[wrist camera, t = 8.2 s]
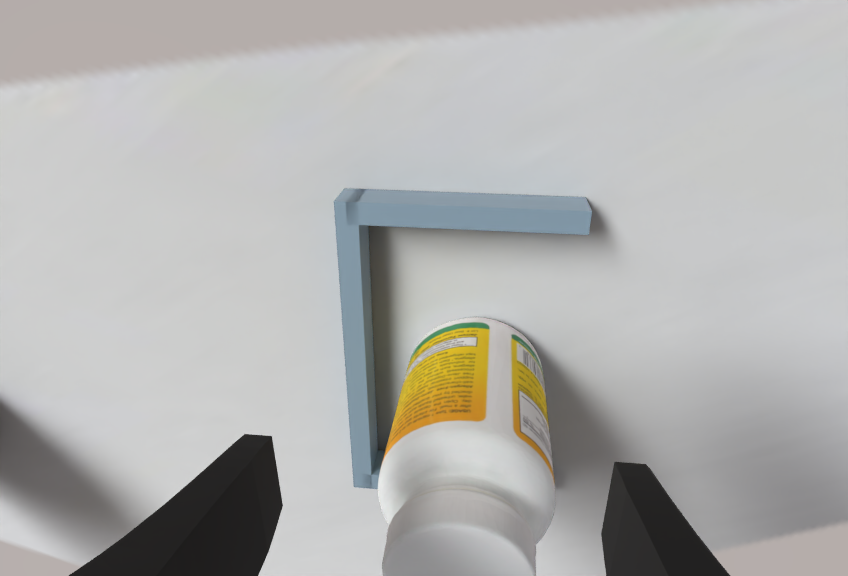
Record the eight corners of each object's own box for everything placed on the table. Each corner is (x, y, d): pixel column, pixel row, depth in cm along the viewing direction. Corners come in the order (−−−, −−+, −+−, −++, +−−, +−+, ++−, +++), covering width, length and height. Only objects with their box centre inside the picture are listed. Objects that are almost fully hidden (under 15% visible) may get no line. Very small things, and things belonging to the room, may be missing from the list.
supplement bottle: (565, 342, 22) (607, 553, 14) (508, 439, 25) (513, 671, 16) (435, 291, 22) (395, 476, 13) (390, 395, 24) (332, 607, 16)
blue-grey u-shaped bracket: (585, 197, 20) (591, 211, 18) (548, 478, 25) (551, 505, 24) (344, 188, 20) (333, 201, 19) (361, 462, 26) (353, 486, 25)
